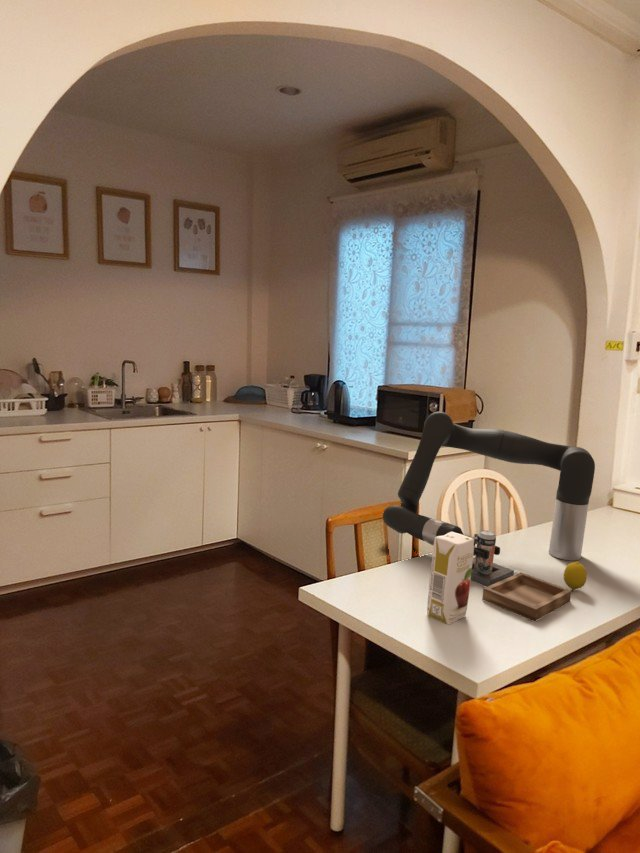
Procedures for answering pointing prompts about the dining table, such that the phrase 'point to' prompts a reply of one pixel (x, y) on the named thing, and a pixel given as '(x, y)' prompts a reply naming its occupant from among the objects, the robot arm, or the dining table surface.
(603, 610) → the dining table surface
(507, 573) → the socket block
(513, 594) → the tray
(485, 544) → the beer can
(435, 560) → the juice carton
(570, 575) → the lemon
